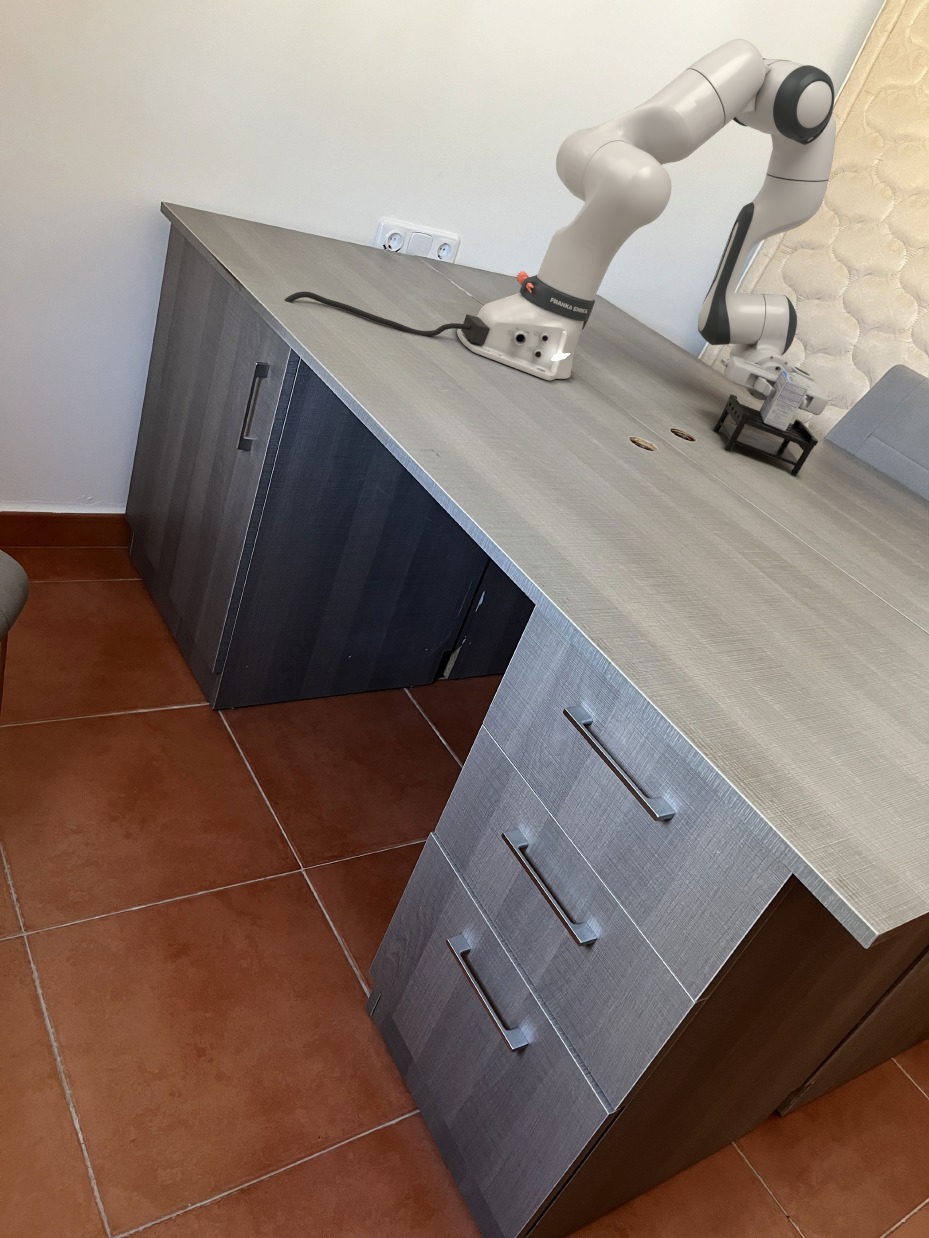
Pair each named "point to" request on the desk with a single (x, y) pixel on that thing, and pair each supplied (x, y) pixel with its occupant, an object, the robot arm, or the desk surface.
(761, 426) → the rack
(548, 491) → the desk surface
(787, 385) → the medicine box
